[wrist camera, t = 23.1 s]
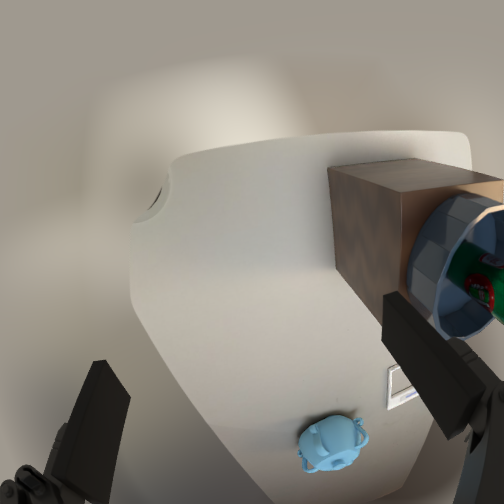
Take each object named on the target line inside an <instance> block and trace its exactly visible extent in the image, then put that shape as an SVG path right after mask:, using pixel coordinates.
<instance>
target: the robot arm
mask: <svg viewBox="0 0 504 504" xmlns="http://www.w3.org/2000/svg"><path fill="white" fill-rule="evenodd" d="M381 341H382V342H383V344H384V345H385V346H386V348H387V349H388V351H389V352H390V353H391V355H392V356H393V358H394V359H395V361H396V362H397V363H398V365H399V366H400V368H401V369H402V371H403V372H404V374H405V375H406V377H407V378H408V379H409V381H410V382H411V384H412V385H413V387H414V388H415V390H416V391H417V393H418V394H419V396H420V397H421V399H422V400H423V402H424V403H425V405H426V406H427V408H428V410H429V411H430V413H431V414H432V416H433V417H434V419H435V420H436V422H437V423H438V425H439V427H440V428H441V430H442V431H443V433H444V434H445V436H446V438H447V440H450V439H451V438H453V437H454V436H456V435H458V434H460V433H461V432H463V431H464V429H465V428H466V426H467V424H468V423H469V425H470V426H471V427H472V429H471V430H470V432H469V434H468V435H467V436H466V438H465V441H464V442H467V441H468V439H469V442H468V447H467V452H466V457H465V461H464V466H463V470H462V474H461V478H460V481H459V485H458V488H457V492H456V495H455V498H454V501H453V504H504V381H501V380H500V379H499V378H498V377H497V376H496V375H495V373H494V372H493V371H492V370H491V369H490V368H489V367H488V366H487V365H486V364H485V362H484V361H483V360H482V359H481V358H480V357H478V355H477V354H476V353H475V352H474V351H472V349H471V348H470V347H469V346H468V344H467V343H466V342H464V341H463V340H461V339H459V338H457V337H455V336H454V337H452V338H450V339H448V340H445V339H444V338H443V337H442V336H441V335H440V334H439V333H438V332H437V330H436V329H435V328H434V327H433V326H432V325H431V324H430V323H429V322H428V321H427V320H426V319H425V318H424V317H423V316H422V315H421V314H420V313H419V312H418V311H417V310H416V309H415V308H414V307H413V306H412V305H411V304H410V303H409V302H408V301H407V300H406V299H405V298H404V297H403V296H402V295H401V294H400V293H399V292H398V291H394V292H391V293H388V294H385V295H383V315H382V339H381ZM130 399H131V397H130V395H129V394H128V393H127V391H126V390H125V388H124V387H123V385H122V384H121V383H120V381H119V379H118V378H117V377H116V375H115V373H114V372H113V370H112V369H111V367H110V366H109V364H108V363H107V361H106V360H100V361H93V364H92V366H91V368H90V370H89V372H88V375H87V377H86V379H85V381H84V384H83V386H82V389H81V391H80V394H79V396H78V398H77V401H76V403H75V406H74V408H73V411H72V413H71V416H70V419H69V421H68V423H64V424H63V426H62V427H61V428H60V429H59V431H58V433H57V436H56V438H55V442H54V444H53V447H52V448H53V449H52V450H51V452H50V455H49V458H48V461H47V464H46V467H45V470H44V474H43V475H42V474H41V473H40V472H38V471H37V470H36V469H35V468H34V467H32V466H31V465H23V466H21V467H20V468H19V469H18V470H17V472H16V474H15V482H14V481H12V480H5V481H4V482H3V483H2V484H1V486H0V504H84V503H85V499H86V500H87V501H89V502H90V503H92V504H109V499H110V492H111V487H112V481H113V476H114V470H115V465H116V460H117V455H118V451H119V446H120V441H121V436H122V432H123V428H124V423H125V419H126V415H127V411H128V407H129V403H130Z"/></svg>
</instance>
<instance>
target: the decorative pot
mask: <svg viewBox="0 0 504 504" xmlns="http://www.w3.org/2000/svg"><path fill="white" fill-rule="evenodd" d="M359 421H360V424H357V423H358V422H359ZM363 423H364V422H363V419H362V418H355V419H354V420H353V421H352V420H351V419H349V418H347V417H344V416H341V415H336V416H334V415H331V416H328V417H327V418H326V419H324V420H321V421H319V422H317V423H315V424H314V425H311V426H310V427H309V428H307V429H306V430H305V431H304V432H303V433H302V435H301V436H300V439H299V442H298V445H299V448H300V450H299V451H298V456H299V457H301V458H302V457H303V459H302V468H303V470H304V471H305V472H308V473H314V472H316V471H318V470H323V471H331V470H339V469H342V468H343V467H345V466H349V465H351V464H352V463H353V460H354V459H356V458H357V457H358V455H359V453H360V448H362V447H364V446H365V445H366V444H367V442H368V440H369V436H368V434H367V433H366V431H365V430H363V429H362V428H361V427H360V426H362V425H363ZM360 432H361V433H362V434H363V436H364V440H363V442H362V443H361V434H360ZM301 454H302V455H301ZM307 460H308V461H309V462H310V463H311V464H312V465H313V466H314V468H313V469H308V468H307Z"/></svg>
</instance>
